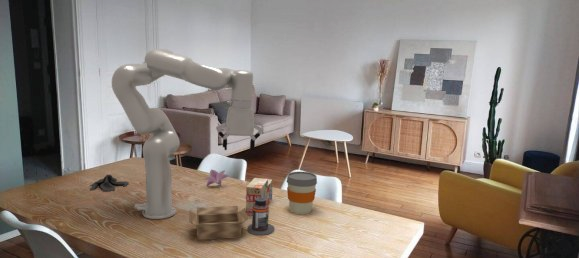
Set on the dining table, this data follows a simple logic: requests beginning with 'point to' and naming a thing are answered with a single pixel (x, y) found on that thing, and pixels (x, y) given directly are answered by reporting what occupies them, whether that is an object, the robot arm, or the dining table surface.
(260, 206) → the supplement bottle
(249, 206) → the stack of blocks
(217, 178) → the lily
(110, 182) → the cloth
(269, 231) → the coaster
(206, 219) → the carton
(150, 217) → the robot arm
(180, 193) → the dining table surface
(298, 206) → the reusable coffee cup
